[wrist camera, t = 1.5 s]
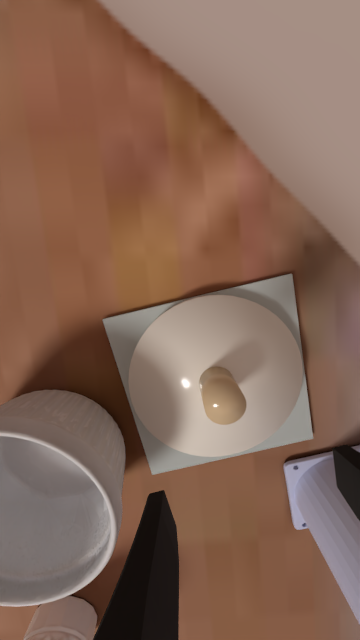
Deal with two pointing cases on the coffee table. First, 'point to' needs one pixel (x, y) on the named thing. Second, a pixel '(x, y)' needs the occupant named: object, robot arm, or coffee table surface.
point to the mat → (132, 325)
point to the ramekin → (57, 495)
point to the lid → (215, 375)
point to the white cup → (63, 620)
